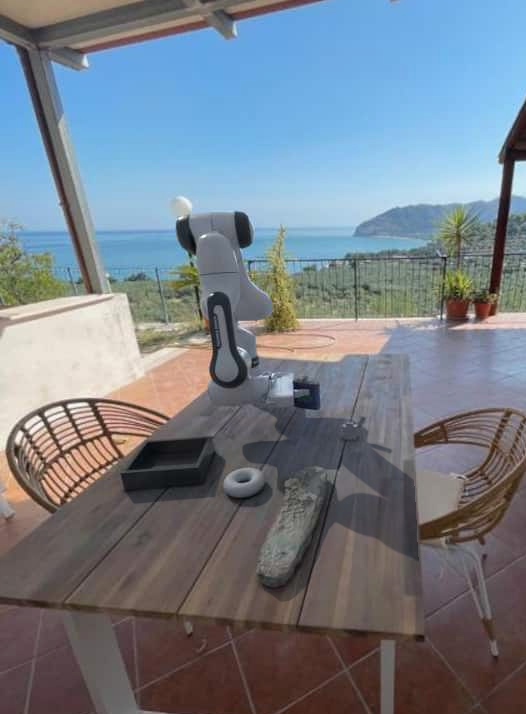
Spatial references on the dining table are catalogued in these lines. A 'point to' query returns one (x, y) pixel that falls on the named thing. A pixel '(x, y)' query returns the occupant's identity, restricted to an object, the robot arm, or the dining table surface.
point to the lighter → (352, 428)
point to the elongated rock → (292, 526)
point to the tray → (168, 463)
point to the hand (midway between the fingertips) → (309, 388)
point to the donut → (247, 489)
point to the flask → (307, 400)
